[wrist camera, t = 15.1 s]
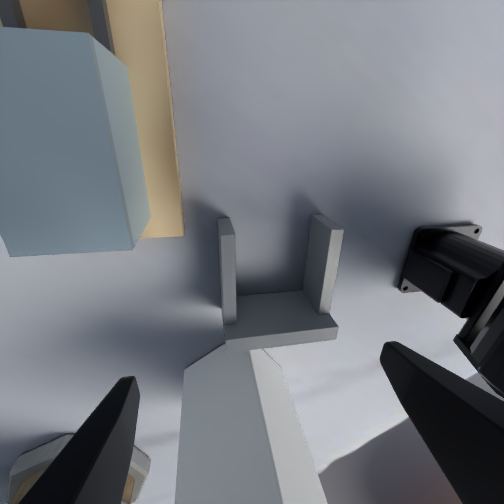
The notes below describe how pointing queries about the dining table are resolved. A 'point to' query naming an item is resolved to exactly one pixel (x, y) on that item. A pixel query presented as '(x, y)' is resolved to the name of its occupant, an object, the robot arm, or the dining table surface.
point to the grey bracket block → (67, 140)
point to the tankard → (41, 457)
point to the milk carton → (242, 435)
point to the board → (134, 91)
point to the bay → (282, 295)
